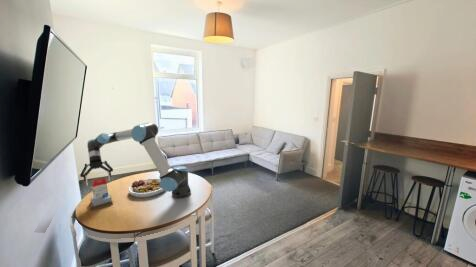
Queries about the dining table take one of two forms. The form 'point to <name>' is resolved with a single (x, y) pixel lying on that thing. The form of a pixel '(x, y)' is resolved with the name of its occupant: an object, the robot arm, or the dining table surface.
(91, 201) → the tower base
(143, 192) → the bowl
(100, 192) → the ink box
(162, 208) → the dining table surface
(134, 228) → the dining table surface
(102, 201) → the tower top
